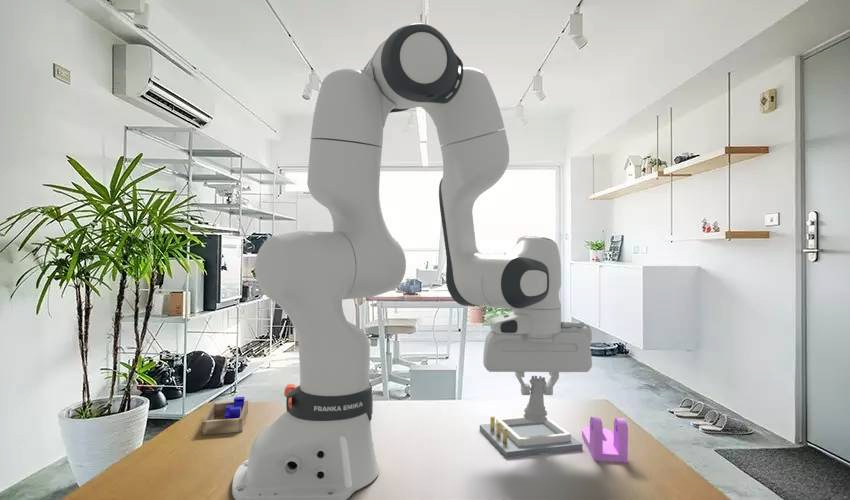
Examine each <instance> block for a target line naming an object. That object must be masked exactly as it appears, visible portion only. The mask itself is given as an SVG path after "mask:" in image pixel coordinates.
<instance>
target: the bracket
mask: <svg viewBox="0 0 850 500" xmlns="http://www.w3.org/2000/svg"><path fill="white" fill-rule="evenodd" d="M603 426H604V425H603V422H602V418H601V417H600V416H591V417H590V420H589V425H588V426H584V427H582V429H581V437H582V440H583V441H584V444H585V445H586V448H587V449H588V451H589V453H590V456H591V457H592V459H593V461H595V462H596V461H597V462H598V461H601V462H614V463H615V462H617V463H628V462H629V461H628V457H629V454H628V453H629V428H628V422H627V420H626V418H622V417H620V418H619V417H615V418H614V421H613V432H612V430H610V429H609V428H605V427H603Z"/></svg>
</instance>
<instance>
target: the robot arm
mask: <svg viewBox="0 0 850 500" xmlns="http://www.w3.org/2000/svg"><path fill="white" fill-rule="evenodd" d="M452 47H453V46H452V44H451V43H450V41H449V40H448V39H447V38H446V37H445V35H444V34H443V33H442V32H441V31H440V30H438V29H437V28H435V27H434V26H432V25H429V24H426V23H411V24H406V25H404V26H402V27H399V28H397V29H396V30H395V31H393V32H392V33H391V34H390V35H389V36H388V37H387V38H386V39H385V40H384V41H383V42H382V43H380V44H379V46H378V47H377V49H376V50H375V52H374V53H373V55H372V57H371V58H370V59H369V61H368V62H367V64H366V65H365V66H364V68H363V69H360V70H359V69H353V68H342V69H338V70H334V71H332V72H330V73H328V74H327V75H326V76H325V77H324V78H323V80H322V82H321V85H320V88H319V92H318V94H317V95H318V96H317V99H316V103H315V106H314V112H313V117H312V118H313V119H312V124H311V132H310V145H309V156H308V157H309V158H308V168H307V182H306V184H307V187H308V190H309V193H310V195H311V196H312V197H313V199H314V200H315V201H316V202H317V203H319V204H320V205H322V206H323V207H325V208H327V210H328V212H329V214H330V216H331V219H332V227H333V229H332V230H333V231H314V230H313V231H311V230H309V231H308V230H305V231H304V230H302V231H301V230H298V231H291V232H287V233H282V234H277V235H273V236H270V237H268V238H267V239H266V240H265V241H264V242H263V243H262V244H261V246H260V247H259V249H258V252H257V254H256V256H255V257H256V258H255V260H254V261H255V262H254V274H255V275H254V276H255V279H256V281H257V284H258V286H259V288H260V290H261V291H262V293H263V294H264V295H265V296H266V297H267V298H268V299H269V300H271V301H272V302H274V303H276V305H278V306H279V307H280V308H281V309H282V310H283V312H284V313H285V314H286V315H287V316H288V319H289V321H290V322H291V324H292V326H293V329H294V332H295V334H296V338H297V344H298V357H299V385H298V386H297V385H295V384H293V383H289V384H286V386H285V387H284V393H283V395H284V397H285V398H286V401H285V402H286V403H285V404H286V405H285V406H286V408H285V409H286V411H285V412H284V413H283V414H281V415H280V416H279V417H278V418H276V419H275V420H273V421H272V422H271V423H270V424H268V425H267V426H266V427H265V428H263V429H262V430H261V431H260V432H258V434H257V435H256V437H255V438H254V441H253V443H252V444H251V448H250V451H249V454H248V458H247V459H246V460H244V461H243V462H242V463H241V464H240V465H239V466H238V467H237V469H236V470H235V472H234V475H233V479H232V484H231V485H232V486H231V494H232V497H233V499H234V500H348V499H349V498H350V497H351V496H353V494H354V493H355V492H356V491H358V490H360V489H362V488H364V487H367V486H369V484H371V483H372V482H373V481H375V480H376V478H377V476H378V475H379V472H380V467H379V464H378V462H377V458H376V457H377V456H376V453H375V448H374V441H373V433H372V425H371V422H372V418H373V414H374V413H373V407H374V391H373V387H372V384H371V382H370V372H371V371H370V366H371V365H370V361H371V360H370V358H371V352H370V351H371V350H370V349H371V347H370V346H371V344H370V343H371V342H370V340H369V337H368V336H367V333H365V331H364V330H363V329H362V328H360V327H359V326H357V325H355V323H352V322H350V321H348V320H347V318H346V316H345V313H344V309H343V300H352V299H353V300H355V299H365V298H374V297H377V296H379V295H382V294H383V295H384V294H385V293H388V292H391V291H394V290H395V289H397V288H398V287H399V286H400V285H401V283H402V282H403V279H404V278H405V273H406V270H407V265H406V264H407V260H406V256H405V253H404V250H403V248H402V246H401V245H400V243H399V242H398V241H397V240H396V239H395V238H394V237H393V236H392V234H391V233H390V231H389V228H388V226H387V225H386V221H385V220H384V216H383V212H382V208H381V201H380V199H381V198H380V182H381V181H380V179H381V165H382V155H383V154H382V152H383V142H384V128H385V126H386V121H387V118H388V116H389V114H391V113H399V112H404V111H407V110H410V109H415V108H422V109H423V110H424V111H425V112H426V113H427V114H428V115H429V116H430V118H431V120H432V121H433V124H434V126H435V128H436V133H437V138H438V141H439V145H440V150H441V151H440V152H441V156H442V163H443V164H442V165H443V166H442V170H443V171H442V178H441V179H440V181H439V186H438V200H439V210H440V219H441V227H442V234H443V239H444V240H443V241H444V247H445V258H446V268H445V285H446V288H447V291H448V292H449V295H450V297H451V298H452V299H453V301H455V302H456V303H457V304H459V305H461V306H464V307H487V308H497V309H507V310H513V311H510V312H507V313H505V314H500V315H498V316H494V317H492V318H490V320H489V325H490V326H489V327H490V330H491V331H489V332H488V333H487V335H486V337H485V342H484V346H483V347H484V348H483V356H482V357H483V359H482V360H483V363H482V364H483V366H484V368H485V369H486V371H487V372H489V373H514V374H515V375H514V376H515V377H516V379H517V381H518V383H520V392H521V393H520V394H521V395H522V396H530V395H531V390H530V388H531V384H529V383H525V382H524V380H523V379H524V378H525V373H548V375H549V376H550V378H549V380H548V382H546V383H547V384H546V385H545V386H544V390H545V392H544V395H543V396H553V395H554V387H555V385H556V383H557V382H558V381H559V379H560V373H588V372H589V371H590V370H591V369H592V368H593V359H592V351H591V343H592V340H593V339H592V338H593V337H592V336H593V335H592V329H591V327H590V326H589V325H588V324H585V322H582V321H576V322H570V321H562V304H561V301H560V290H561V286H562V264H561V255H560V251H559V247H558V243H556V242H555V241H554V240H553V239H551V238H548V237H543V236H536V235H535V236H533V235H527V236H525V235H524V236H522V237H518V239H517V241H516V243H515V244H516V245H514V246H513V247H512V248H511V249H510V250H507V251H506V252H504V253H502V254H483V253H482V252H480V251H479V249H478V247H477V245H476V244H477V241H476V235H475V234H476V233H475V226H474V217H473V211H474V210H473V209H474V208H473V207H474V205H475V203H476V201H477V199H478V198H479V196H481V195H482V194H483V193H485V192H486V191H487V190H489V189H491V188H492V187H493V186H495V185H496V184H497V183H498V181H500V180H501V178H502V177H503V176H504V174H505V172H506V170H507V169H508V165H509V163H510V148H509V147H510V146H509V141H508V137H507V133H506V129H505V123H504V120H503V115H502V113H501V109H500V107H499V104H498V103H499V102H498V100H497V97H496V96H495V92H494V91H493V87H492V85H491V83H490V81H489V79H488V76H487V75H486V73H484V72H483V71H481V70H480V69H477V68H474V67H465V66H464V64H463V63H464V62H463V61H462V60H461V58H460V57H459V55H457V54H456V53H455V51H454V49H453V48H452ZM459 66H460V67H459Z"/></svg>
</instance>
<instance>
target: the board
mask: <svg viewBox="0 0 850 500" xmlns="http://www.w3.org/2000/svg"><path fill="white" fill-rule="evenodd" d="M545 417H546V418H547V420H546V421H545V422H543V423H537V422H531V421H528V420H526V419H525V418H524V416H514V417H511V416H510V417H501V418H496V417H495V416H493V415H492V416H490V420H489V421H490V423H486V424H485V423H483V424H479V431H480V432H481V433H482V434H483V435H484V436H485V437H486V438H487V439H488V440H489V441H490V442H491V443H492V445H494V447H496V449H497V450H498V451H499V452H500V453H501V454H502V455H503V456H504V457H505V458H506V459H507V458H508V459H509V458H516V457H523V456H524V457H526V456H535V455H543V454H544V455H545V454H553V453H562V452H563V453H564V452H572V451H580V450H582V451H583V443H582V442H580V441H579V440H578V439H577V438H575V437H573V436H572V433H570V432H569V431H568V430H566V429H565V428H563V427H562V426H560V425H559V424H558V423H557V422H555V421H554V420H552V419H551V418H549V417H548V415H546V416H545ZM495 418H496V419H495ZM495 421H496V422H495Z"/></svg>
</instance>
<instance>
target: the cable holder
mask: <svg viewBox="0 0 850 500" xmlns="http://www.w3.org/2000/svg"><path fill="white" fill-rule="evenodd" d="M245 399H246V396H235V397H234V398H233V402H234V404H231V405H227V407H226V412H225V415H223V416H224V419H235V418H240V415H241V412H242V409H243V406H244V403H245V401H246V400H245Z"/></svg>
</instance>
